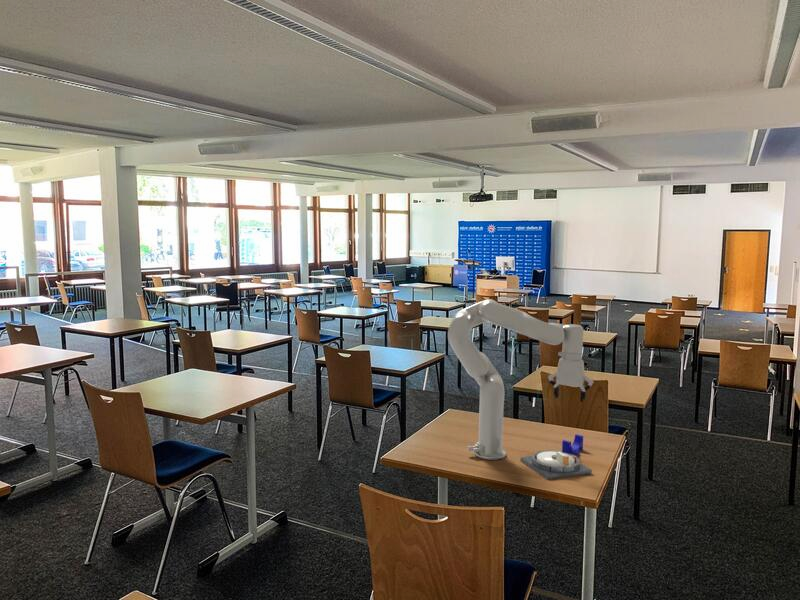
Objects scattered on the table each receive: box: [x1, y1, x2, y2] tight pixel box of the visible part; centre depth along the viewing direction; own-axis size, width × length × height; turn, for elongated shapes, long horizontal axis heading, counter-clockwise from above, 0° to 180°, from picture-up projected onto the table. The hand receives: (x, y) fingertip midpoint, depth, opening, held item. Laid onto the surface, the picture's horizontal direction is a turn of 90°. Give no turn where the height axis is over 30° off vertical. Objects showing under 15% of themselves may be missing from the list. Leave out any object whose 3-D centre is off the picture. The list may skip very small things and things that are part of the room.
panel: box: [520, 449, 593, 480], centre depth 223 cm, size 19×19×4 cm
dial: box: [537, 450, 575, 467], centre depth 223 cm, size 14×14×5 cm
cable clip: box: [561, 434, 584, 457], centre depth 239 cm, size 12×4×6 cm, turn 136°
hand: (569, 399), depth 229 cm, fingers open, 9 cm apart
